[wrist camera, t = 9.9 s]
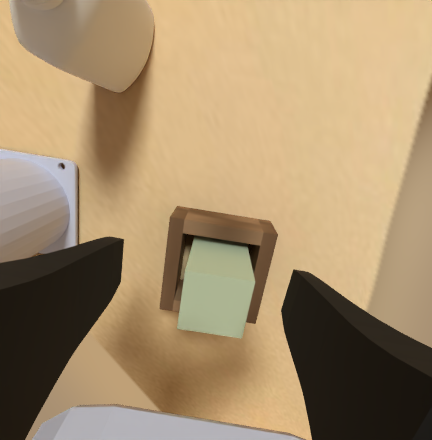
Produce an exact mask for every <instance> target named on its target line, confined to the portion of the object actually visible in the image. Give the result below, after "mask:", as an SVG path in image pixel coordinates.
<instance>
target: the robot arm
mask: <svg viewBox="0 0 432 440" xmlns="http://www.w3.org/2000/svg"><path fill="white" fill-rule="evenodd" d="M62 163H63V164H64V165H65V169H63V168H62V167H61V164H62ZM123 244H124V239H120V238H114V237H104V238H100V239H96V240H92V241H89V242H86V243H82V244H79V245H78V168H77V165H76V163H75V162H74V161H71V160H66V159H60V158H54V157H48V156H42V155H36V154H30V153H24V152H18V151H12V150H6V149H0V440H25V438H26V437H27V435H28V433H29V431H30V429H31V427H32V425H33V423H34V421H35V419H36V418H37V416H38V414H39V412H40V410H41V408H42V407H43V405H44V403H45V401H46V399H47V398H48V396H49V394H50V392H51V390H52V389H53V387H54V385H55V383H56V382H57V380H58V378H59V376H60V375H61V373H62V371H63V370H64V368H65V366H66V364H67V363H68V361H69V359H70V358H71V356H72V354H73V353H74V351H75V350H76V349H77V347H78V346H79V344H80V343H81V341H82V340H83V339H84V337H85V336H86V335H87V333H88V332H89V331H90V329H91V328H92V326H93V325H94V324H95V322H96V321H97V320H98V318H99V317H100V316H101V314H102V313H103V311H104V310H105V309H106V307H107V306H108V304H109V303H110V301H111V300H112V298H113V296H114V294H115V292H116V290H117V288H118V286H119V284H120V282H121V271H122V258H123ZM36 253H42V254H43V255H39V256H34V257H32V256H33V255H35V254H36ZM281 312H282V319H283V326H284V332H285V335H286V339H287V342H288V345H289V349H290V352H291V355H292V358H293V362H294V365H295V368H296V371H297V374H298V378H299V381H300V384H301V388H302V392H303V396H304V400H305V405H306V410H307V415H308V420H309V425H310V430H311V436H312V440H432V348H431V347H428V346H427V345H424V344H422V343H420V342H418V341H416V340H414V339H412V338H410V337H408V336H407V335H404V334H403V333H401V332H399V331H397V330H395V329H394V328H392V327H390V326H388V325H387V324H385V323H383V322H381V321H380V320H378V319H376V318H375V317H373V316H372V315H370V314H369V313H367V312H366V311H364V310H362V309H361V308H359V307H358V306H356V305H355V304H353V303H352V302H351V301H349V300H348V299H346V298H345V297H344V296H342V295H341V294H339V293H338V292H337V291H335V290H334V289H332V288H331V287H330V286H328V285H327V284H326V283H324V282H323V281H321V280H320V279H319V278H317V277H316V276H314V275H312V274H311V273H309V272H305V271H299V270H293V273H292V276H291V280H290V283H289V286H288V289H287V293H286V296H285V299H284V303H283V306H282V309H281ZM32 440H306V439H303V438H300V437H298V436H295V435H293V434H290V433H286V432H280V431H274V430H268V429H262V428H256V427H250V426H244V425H238V424H232V423H226V422H220V421H214V420H208V419H202V418H196V417H190V416H184V415H178V414H172V413H166V412H160V411H154V410H148V409H142V408H136V407H130V406H124V405H118V404H107V405H106V404H104V405H79V406H75V407H71V408H70V409H68V410H66V411H64V412H62V413H61V414H59V415H57V416H55V417H53V418H52V419H50V420H48V421H46V422H44V423H42V425H41V426H40V428H39V430H38V431H37V433H36V434H35V436H34V437H33V439H32Z"/></svg>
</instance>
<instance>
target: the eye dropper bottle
mask: <svg viewBox="0 0 432 440" xmlns="http://www.w3.org/2000/svg"><path fill="white" fill-rule="evenodd" d="M9 4H10V11H11V17H12V22H13V26H14V30H15V34H16V36H17V38H18V40H19V42H20V44H21V45H22V46H23V47H24V48H25V49H26V50H27V51H29V52H30V53H32V54H33V55H35V56H37V57H38V58H40V59H42V60H44V61H45V62H47V63H49V64H51V65H52V66H54V67H56V68H58V69H60V70H63V71H65V72H67V73H69V74H72V75H74V76H76V77H79V78H81V79H84V80H86V81H89V82H91V83H93V84H96V85H98V86H101V87H103V88H106V89H108V90H111V91H113V92H117V93H120V92H123V91H125V90H126V89H127V88H128V87H129V86H130V85H131V84H132V83H133V82H134V81H135V80H136V79H137V77H138V76H139V74H140V73H141V71H142V70H143V68H144V66H145V64H146V62H147V59H148V56H149V53H150V50H151V46H152V41H153V34H154V15H153V11H152V9H151V7H150V5H149V3H148V2H147V0H9Z"/></svg>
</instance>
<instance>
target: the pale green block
mask: <svg viewBox="0 0 432 440" xmlns="http://www.w3.org/2000/svg"><path fill="white" fill-rule="evenodd" d="M254 285H255V278H254V274H253V269H252V265H251V260H250V256H249V251H248V247H247V243H241V242H235V241H229V240H222V239H216V238H210V237H204V236H197V235H195V237H194V241H193V244H192V248H191V251H190V255H189V258H188V262H187V266H186V269H185V275H184V282H183V289H182V296H181V303H180V311H179V318H178V325H177V329H181V330H188V331H195V332H201V333H208V334H215V335H221V336H228V337H235V338H242V336H243V332H244V328H245V323H246V319H247V315H248V311H249V306H250V302H251V298H252V294H253V289H254Z"/></svg>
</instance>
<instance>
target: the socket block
mask: <svg viewBox="0 0 432 440" xmlns="http://www.w3.org/2000/svg"><path fill="white" fill-rule="evenodd" d="M186 234H191V235H197V236H204V237H210V238H216V239H222V240H229V241H235V242H241V243H247V244H252V249H251V253H250V260H251V265H252V269H253V274H254V278H255V285H254V289H253V294H252V298H251V302H250V306H249V311H248V315H247V319H246V322H247V323H254V324H255V323H256V320H257V316H258V312H259V308H260V304H261V300H262V296H263V292H264V288H265V284H266V280H267V276H268V272H269V268H270V264H271V260H272V256H273V252H274V248H275V244H276V240H277V236H278V234H277V232H276V230H275V229H274V227H273V225H272V223H271V221H266V220H260V219H254V218H248V217H241V216H235V215H229V214H223V213H217V212H211V211H205V210H198V209H192V208H186V207H180V206H177V207H176V209H175V210H174V212H173V213H172V215H171V216H170V222H169V231H168V239H167V248H166V257H165V266H164V275H163V283H162V292H161V301H160V309H162V310H169V311H175V312H179V311H180V303H181V296H182V289H183V282H184V280H180V276H181V269H182V262H183V254H184V247H185V240H186Z"/></svg>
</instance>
